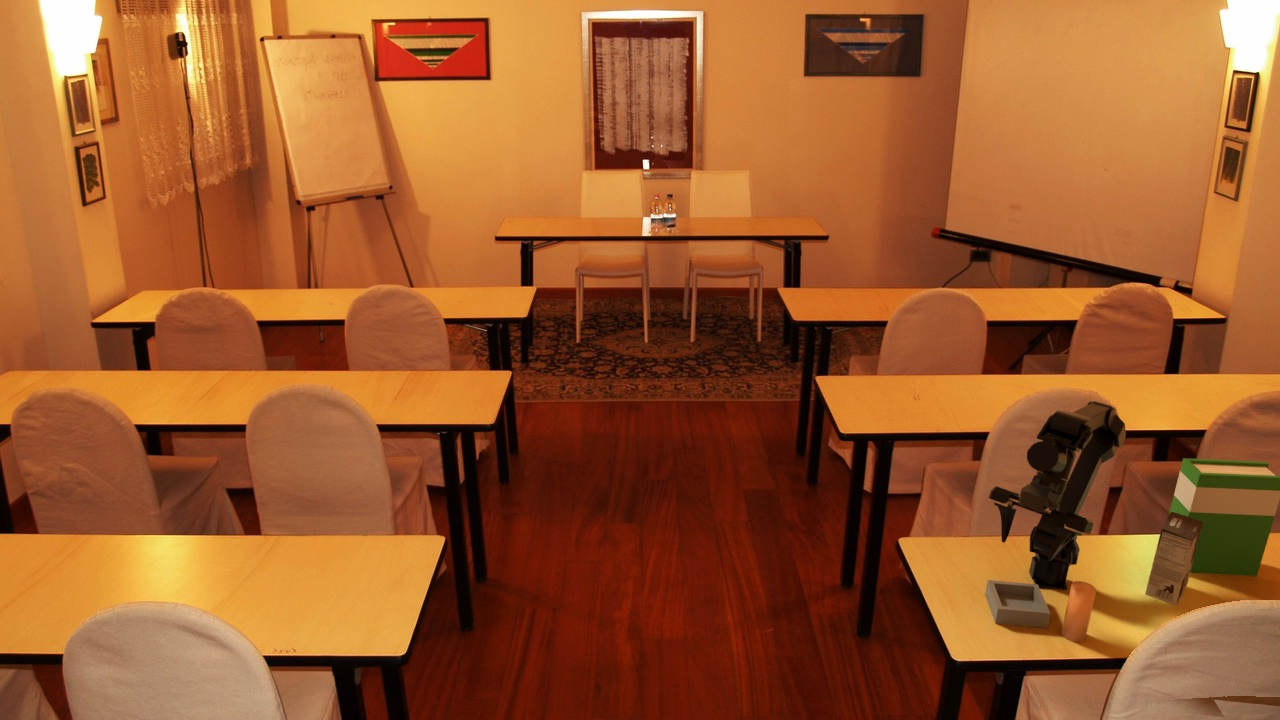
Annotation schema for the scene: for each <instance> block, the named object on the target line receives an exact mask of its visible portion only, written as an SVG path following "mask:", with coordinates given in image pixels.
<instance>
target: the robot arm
mask: <svg viewBox="0 0 1280 720" xmlns="http://www.w3.org/2000/svg"><path fill="white" fill-rule="evenodd" d="M1126 430H1127V429H1126V423H1125V422H1124V421H1123V420H1122V419H1121V418H1120V417H1119V415H1117V413H1116V407H1113V406H1112V405H1110V404H1106V403H1104V402H1103V403H1102V402H1099V401H1095V400H1094V401H1088V403H1087V405H1084V406H1082V407H1081V408H1079V409H1077V410H1074V411H1073V412H1072V411H1066V410H1057V411H1055V412H1054V413H1053V414H1050V416H1049V417H1048V418H1047V420H1046V421H1045V423H1044V425H1043V426H1042V427H1041V430H1040V431H1039V432H1038V434H1037V436H1036V440H1039V441H1037V442H1034V443H1033V444H1032V445H1031V446H1030V447H1029V448H1028V449H1027V452H1026V460H1027V463H1028V464H1029V466H1030V467H1031V468H1032V469H1033V470H1036V473H1035V475H1033V477H1032V479H1031V481H1030V483H1029V484H1026V485H1025V486H1023V487H1021V489H1020V493H1018V492H1015V491H1012V490H1010V489H1007V488H1004V487H1001V486H997V485H995V486H994V487H993V488H992V489H991V490H990V491H989V492H990V493H989V495H988V499H989V500H992V501H994V502H993V505H994V506H996V507H997V508H998V511H999V513H1000V520H1001V521H1000V523H1001V524H1000V525H1001V527H1000V528H1001V532H1000V533H1001V542H1002V543H1003V544H1004V543H1006V542H1007V539H1008V537H1009V534H1010V531H1011V528H1012V525H1013V521H1014V519H1015V515H1016V514H1017V513H1016V512H1017V508H1014V506H1016V507H1020V508H1022V509H1026V510H1028V511H1029V512H1030V511H1031V512H1033V513H1036V514H1039V515H1041V517H1040V519H1039V522H1038V524H1036V525H1035V526H1034V527H1033V528H1032V530H1031V532H1030V536H1029V552H1030V553H1033V554H1035V555H1034V556H1032V557H1031V561H1030V567H1029V569H1028V573H1029V575H1030V578H1031V579H1032V580H1033V582H1034V583H1033V584H1038V586H1039V588H1044V589H1045V588H1046V589H1048V588H1049V589H1057V590H1058V589H1059V590H1060V589H1061V590H1068V589H1069V586H1068V584H1067V578H1068V574H1069V569H1070V568H1069V567H1071V565H1072V566H1076V565H1077V564H1078V559H1079V554H1080V553H1079V552H1080V551H1081V550H1080V546H1079V543H1078V542H1077V539H1078V536H1079V537H1082V536H1083V534H1088V535H1091V532H1092V531H1093V526H1094V522H1093V520H1092V519H1090V518H1088V517H1085V516H1082V515H1080V512H1081V509H1082V507H1083V505H1084V503H1085V501H1086V498H1087V496H1088V494H1089V492H1090V490H1091V488H1092V485H1093V484H1094V481H1095V479H1096V477H1097V475H1098V473H1099V470H1100V468H1101V466H1102V464H1103V463H1106V462H1107V461H1108V460H1110V459H1112V458H1114V457H1115V456H1116V454H1117V452H1118V450H1119V448H1120V449H1121V448H1122V447H1123V445H1124V443H1125V440H1126V437H1127V436H1126V435H1127V432H1126ZM1080 451H1081V452H1080ZM1079 452H1080V454H1079V456H1078V458H1077V461H1076V463H1075V460H1076V456H1077V454H1076V453H1079ZM1074 463H1075V465H1074ZM1073 466H1074V467H1073ZM1072 468H1073V469H1072ZM1047 509H1048V510H1047Z"/></svg>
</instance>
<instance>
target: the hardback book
mask: <svg viewBox="0 0 1280 720" xmlns="http://www.w3.org/2000/svg"><path fill="white" fill-rule="evenodd" d="M1181 462H1182V463H1181V466H1180V470H1179V473H1178V478H1177V482H1176V484H1175V485H1176V486H1175V490H1174V493H1173V498H1172V501H1171V505H1170V509H1169V513H1168V515H1169V514H1170V513H1171V512H1175V513H1178V514H1181V515H1185V516H1188V517H1190V518H1192V519H1195V520H1199V521H1202V522H1203V525H1202V529H1201V533H1200V537H1199V541H1198V545H1197V549H1196V552H1195V556H1194V560H1193V564H1192V568H1191V572H1190V574H1203V575H1218V576H1219V575H1220V576H1221V575H1223V576H1224V575H1226V576H1239V577H1240V576H1243V577H1258V574H1259V570H1260V567H1261V563H1262V561H1263V557H1264V555H1265V554H1264V553H1265V550H1266V546H1267V544H1268V540H1269V537H1270V534H1271V529H1272V526H1273V523H1274V521H1275V517H1276V513H1277V511H1278V506H1279V504H1280V475H1277V474H1274V473H1273V472H1272V471H1271V470H1270V469H1269V467H1270V466H1269V465H1270V464H1269V463H1268V461H1255V460H1253V461H1251V460H1249V461H1248V460H1234V459H1233V460H1231V459H1211V458H1210V459H1206V458H1205V459H1204V458H1187V457H1185V458H1182V461H1181Z"/></svg>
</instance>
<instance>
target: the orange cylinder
mask: <svg viewBox="0 0 1280 720" xmlns="http://www.w3.org/2000/svg"><path fill="white" fill-rule="evenodd" d="M1096 593H1097V589H1096V587H1095V586H1093V584H1091V583H1089V582H1087V581H1083V580H1082V581H1081V580H1075V581H1072V583H1071V585H1070V590H1069V593H1068V594H1069V595H1068V600H1067V603H1066V608H1065V613H1064V617H1063V621H1062V626H1061V630H1060V635H1062V637H1063V638H1064V639H1066V640H1067V641H1071V642H1073V643H1082V641H1083V642H1084V641H1085V640H1086V637H1087V634H1088V633H1087V632H1088V628H1089V623H1090V620H1091V615H1092V611H1093V610H1092V609H1093V606H1094V602H1095V598H1096Z"/></svg>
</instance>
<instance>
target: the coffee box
mask: <svg viewBox="0 0 1280 720" xmlns="http://www.w3.org/2000/svg"><path fill="white" fill-rule="evenodd" d="M1169 513H1170V512H1169ZM1169 513H1168V517H1167V518H1166V519H1165V521H1164V523H1163V525H1162V527H1161V530H1160V534H1159V537H1158V542H1157V545H1156V549H1155V554H1154V557H1153V561H1152V566H1151V569H1150V574H1149V576H1148V582H1147V585H1146V590H1145V595H1146V596H1150V597H1153V598H1154V599H1159V600H1161V601H1164V602H1166V603H1169V604H1171V605H1174V606H1177V605H1178V604H1179V602H1180V600H1181V598H1182V597H1183V594H1184V592H1185V591H1186V588H1187V586H1188V583H1189V578H1190V574H1191V573H1190V572H1191V568H1192V564H1193V560H1194V556H1195V552H1196V549H1197V545H1198V541H1199V537H1200V533H1201V529H1202V525H1203V522H1202V521H1199V520H1195V519H1192V518H1190V517H1188V516H1185V515H1181V514H1178V513H1175V512H1171V513H1170V514H1169Z"/></svg>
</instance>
